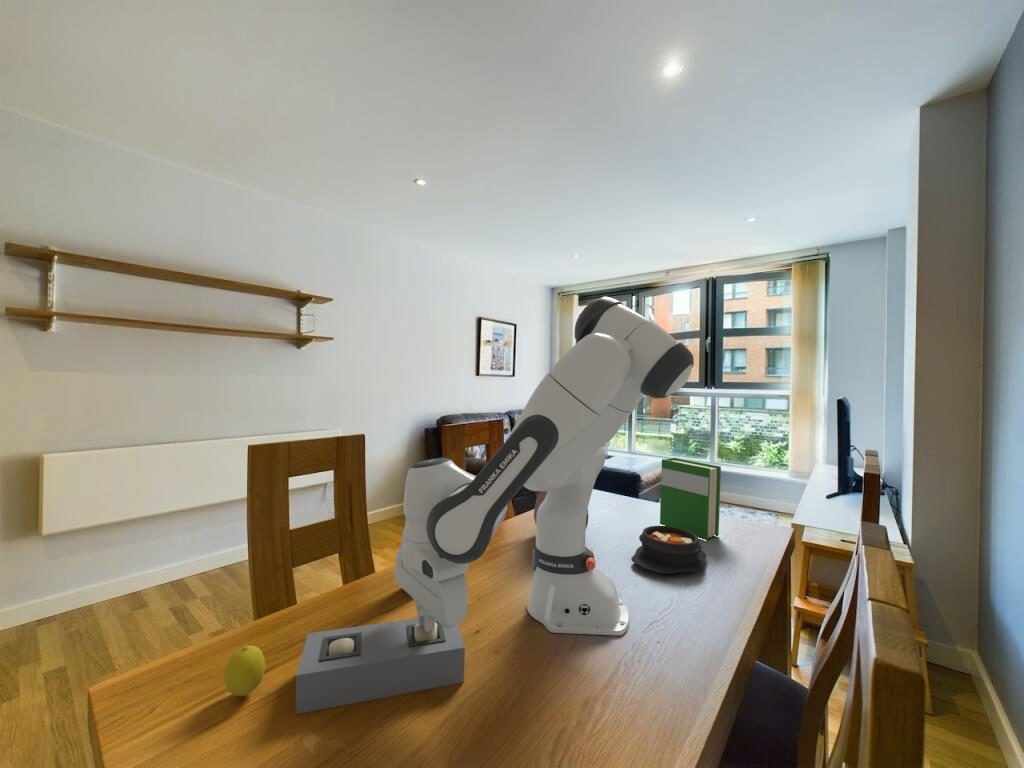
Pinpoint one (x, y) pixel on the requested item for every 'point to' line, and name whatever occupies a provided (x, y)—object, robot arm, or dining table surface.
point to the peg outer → (341, 646)
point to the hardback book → (690, 496)
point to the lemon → (244, 670)
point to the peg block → (376, 664)
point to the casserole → (669, 550)
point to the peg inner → (424, 633)
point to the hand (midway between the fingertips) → (426, 627)
